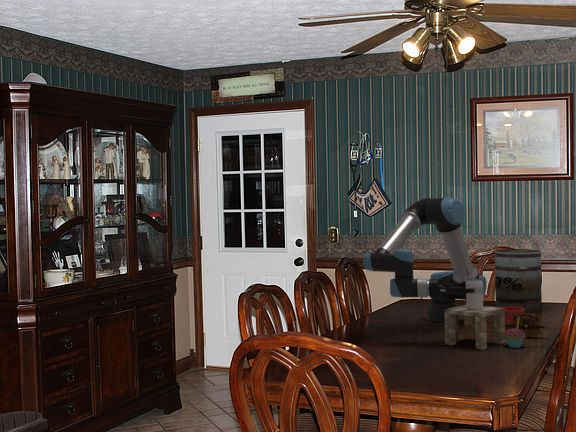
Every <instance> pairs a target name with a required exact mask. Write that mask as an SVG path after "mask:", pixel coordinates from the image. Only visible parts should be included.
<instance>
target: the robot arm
mask: <svg viewBox="0 0 576 432" xmlns="http://www.w3.org/2000/svg"><path fill="white" fill-rule="evenodd" d="M464 220H465V209H464V205H463V203H462V202H461V201H460V200H459V199H458V198H454V197H435V198H433V197H432V198H430V197H426V198H421V199H418V200H416V201H415V202H414V203H412V204H411V205H410V206H409V207H407V208H406V209H405V210H404V211H403V213H401V215H400V220H399V221H398V222H397V223H396V225H395V226H394V227H393V229H392V230H391V231H390V232H389V233H388V234H387V236H386V238H385V239H383V241H382V242H381V243H380V245H378V247H377V249H376V250H375V251H374V252H368V253H366V254H365V255H364V256H363V260H362V265H363V266H364V267H363V268H364V269H365V270H367V271H370V272H374V273H375V272H381V273H382V272H383V273H394V278H391V279H390V281H389V293H390V296H391V297H393V298H420V299H421V300H422V299H423V298H428V297H429V298H430V305H429V308H428V312H427V315H426V316H427V317H426V320H427V322H432V323H441V324H445V309H449V308H454V307H458V306H457V303H456V301H457V300H459V301H460V300H461V301H466V294H483V298H484V297H485V294H486V292H487V287H488V286H487V285H488V284H487V278H486V276H484V275H480V274H479V271H478V268H476V267H474V266H473V262H472V260H471V257H470V254H469V251H468V248H467V244H466V241H465V238H464V235H463V232H462V228H461V227H462V225H463V222H464ZM424 225H435V229H436V231H437V232H438V233H439V234H441V236H442V239H443V242H444V245H445V248H446V251H447V253H448V257H449V259H450V263H451V265H452V269H453V270H449V271H448V270H447V271H438V272H433V273H432V274H430V279H428V278H414V255H413V250H412V249H405V248H404V249H403V248H402V247H403V246H404V244H405V243H406V241H407V240H408V239H409V238H410V236H411V235H412V234H413V233H414V231H416V230H418V229H420V228H421V226H424ZM468 278H481V280H482V282H483V287H466V282H467V279H468ZM460 317H461V315H458V322H459V321H461V318H460Z"/></svg>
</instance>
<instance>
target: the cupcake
mask: <svg viewBox="0 0 576 432" xmlns="http://www.w3.org/2000/svg"><path fill="white" fill-rule="evenodd" d="M519 317H520V316H519ZM519 319H520V318H518V321H517V327H516V328H513V329H508V330H506V331H504V332H503V337H504V338H505V342H506V344H507V346H508V347H509V348H512V349H514V348H515V349H518V348H521V347H522V343H523V342H524V339H526V337H525V335H526V334H525V333H524V332H523V331H522V330H519V329H518V326H519Z"/></svg>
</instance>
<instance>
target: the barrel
mask: <svg viewBox="0 0 576 432" xmlns="http://www.w3.org/2000/svg"><path fill="white" fill-rule="evenodd" d="M494 275H495V277H494V278H495V280H494V282H495V284H494V285H495V286H494V287H495V291H494V292H495V307H498V308H500V307H520V308H524V313H528V314H536V313H540V312H542V311H543V310H542V309H543V307H542V305H543V302H542V301H543V300H542V297H543V296H542V294H543V293H542V250H539V249H526V248H525V249H521V248H520V249H498V250H497V249H496V250H494Z"/></svg>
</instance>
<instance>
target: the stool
mask: <svg viewBox="0 0 576 432" xmlns="http://www.w3.org/2000/svg"><path fill="white" fill-rule="evenodd" d="M455 314H457V315H460V316H464V315H466V316H474V317H475V320H476V339H475V349H477V350H486V349H487V348H488V346H487V345H488V344H487V343H488V340H487V339H488V336H487V333H488V332H487V317H488V316H493V332H494V333H493V334H494V335H493V336H494V337H493V338H494V341H493V342H494V344H499V345H502V344H505V343H506V339H505V338H504V337H503V332H504V331H505V311H504V308H498V307H496V306H488V305H487V306H485V305H483V308H482V309H481V310H469V309H467V307H466V304H464V305H459V306H457V307H454V308H449V309H445V323H444V344H445V345H448V346H453V345H456V344H457V342H456V333H455Z"/></svg>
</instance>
